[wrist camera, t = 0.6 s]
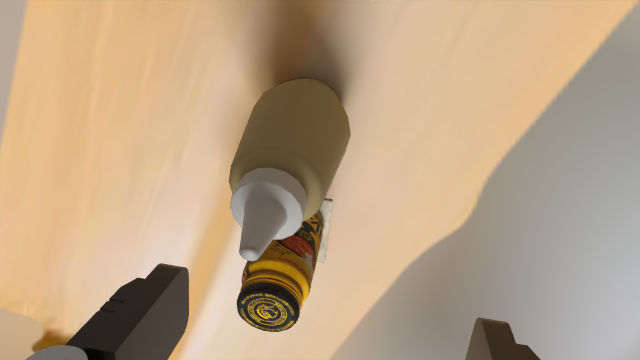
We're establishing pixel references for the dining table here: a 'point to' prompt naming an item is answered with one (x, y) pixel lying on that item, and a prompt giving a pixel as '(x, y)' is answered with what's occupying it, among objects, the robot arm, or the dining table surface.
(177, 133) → the dining table surface
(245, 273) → the condiment
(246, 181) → the squeeze bottle
